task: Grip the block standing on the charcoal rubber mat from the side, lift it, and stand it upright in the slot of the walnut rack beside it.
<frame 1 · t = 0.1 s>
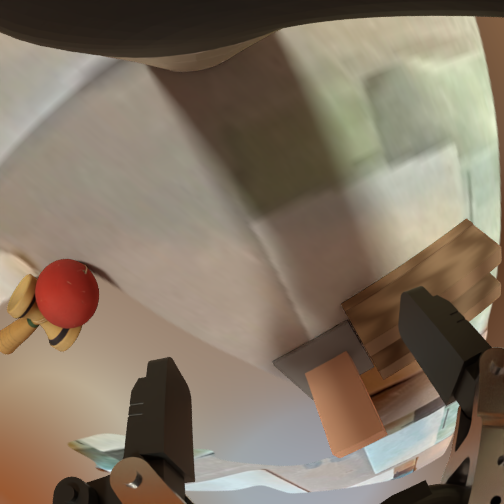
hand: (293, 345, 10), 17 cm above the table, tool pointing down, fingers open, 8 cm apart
mat: (327, 364, 39), on the table
block: (328, 366, 39), resting on mat
kendama: (44, 302, 28), on the table
rack: (416, 285, 35), on the table
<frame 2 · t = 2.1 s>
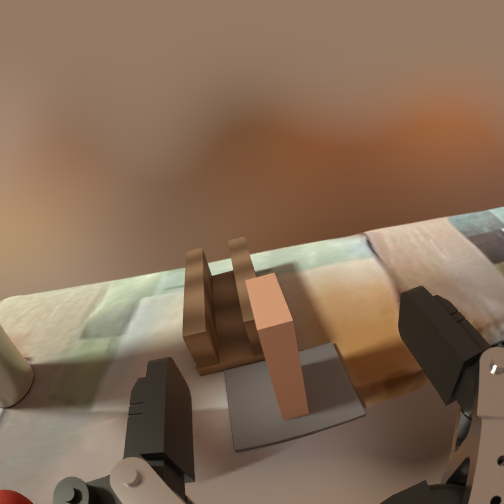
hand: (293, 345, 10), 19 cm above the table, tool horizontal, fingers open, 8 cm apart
mat: (289, 394, 29), on the table
block: (288, 392, 29), resting on mat
rack: (231, 316, 42), on the table
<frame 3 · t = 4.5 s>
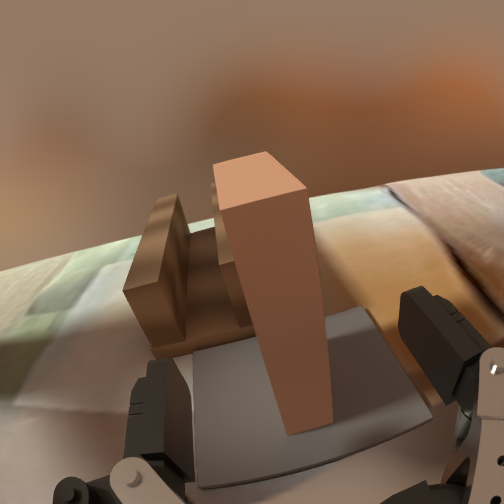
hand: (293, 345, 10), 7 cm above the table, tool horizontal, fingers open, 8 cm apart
mat: (297, 390, 17), on the table
block: (296, 386, 17), resting on mat
rack: (211, 279, 30), on the table
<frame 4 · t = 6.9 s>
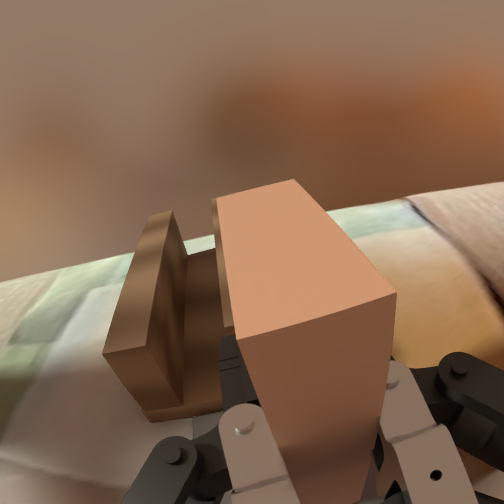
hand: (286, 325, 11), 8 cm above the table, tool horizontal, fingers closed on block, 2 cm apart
mat: (320, 473, 12), on the table
block: (317, 457, 13), resting on mat, touching gripper
rack: (213, 316, 25), on the table
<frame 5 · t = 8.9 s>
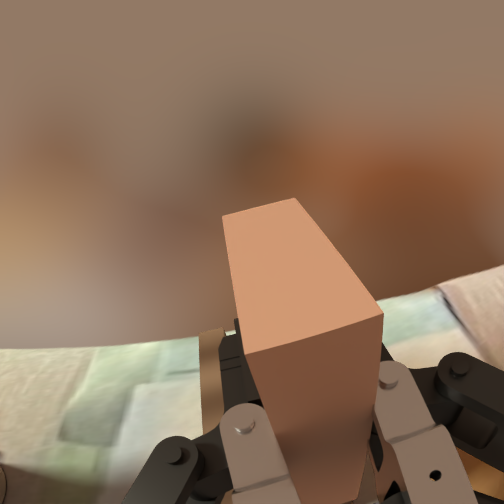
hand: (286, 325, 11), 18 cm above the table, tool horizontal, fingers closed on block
block: (316, 456, 13), point 10 cm above the table, touching gripper
rack: (272, 434, 25), on the table
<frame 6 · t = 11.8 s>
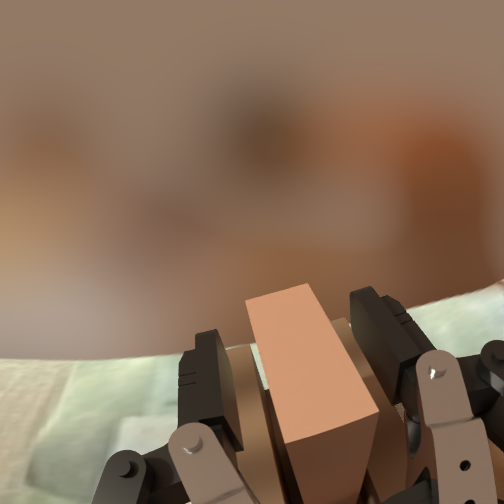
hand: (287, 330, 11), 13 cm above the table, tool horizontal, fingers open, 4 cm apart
block: (318, 478, 15), point 1 cm above the table, touching rack
rack: (324, 497, 15), on the table
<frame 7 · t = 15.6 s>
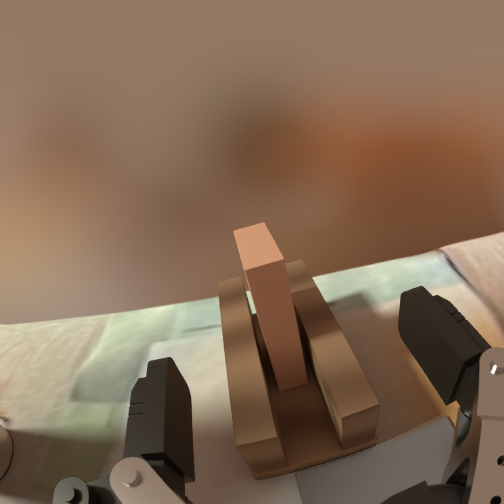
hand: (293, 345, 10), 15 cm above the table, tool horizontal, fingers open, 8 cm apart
block: (285, 362, 27), point 1 cm above the table, touching rack
rack: (290, 379, 27), on the table
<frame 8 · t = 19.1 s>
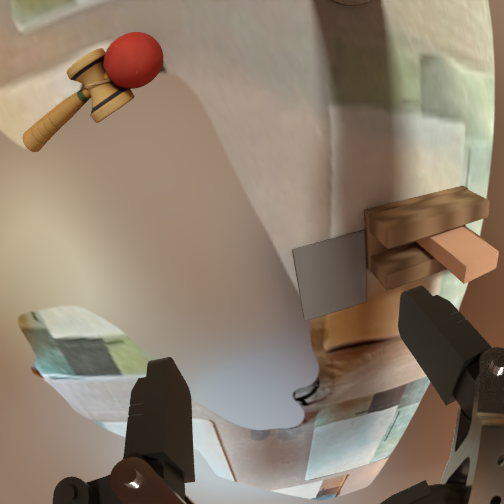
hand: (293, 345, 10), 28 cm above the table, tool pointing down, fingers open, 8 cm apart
mat: (332, 277, 44), on the table
block: (428, 226, 41), point 1 cm above the table, touching rack
kendama: (94, 95, 29), on the table
rack: (418, 225, 42), on the table
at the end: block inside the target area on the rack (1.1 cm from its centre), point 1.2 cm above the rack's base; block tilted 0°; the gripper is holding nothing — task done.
